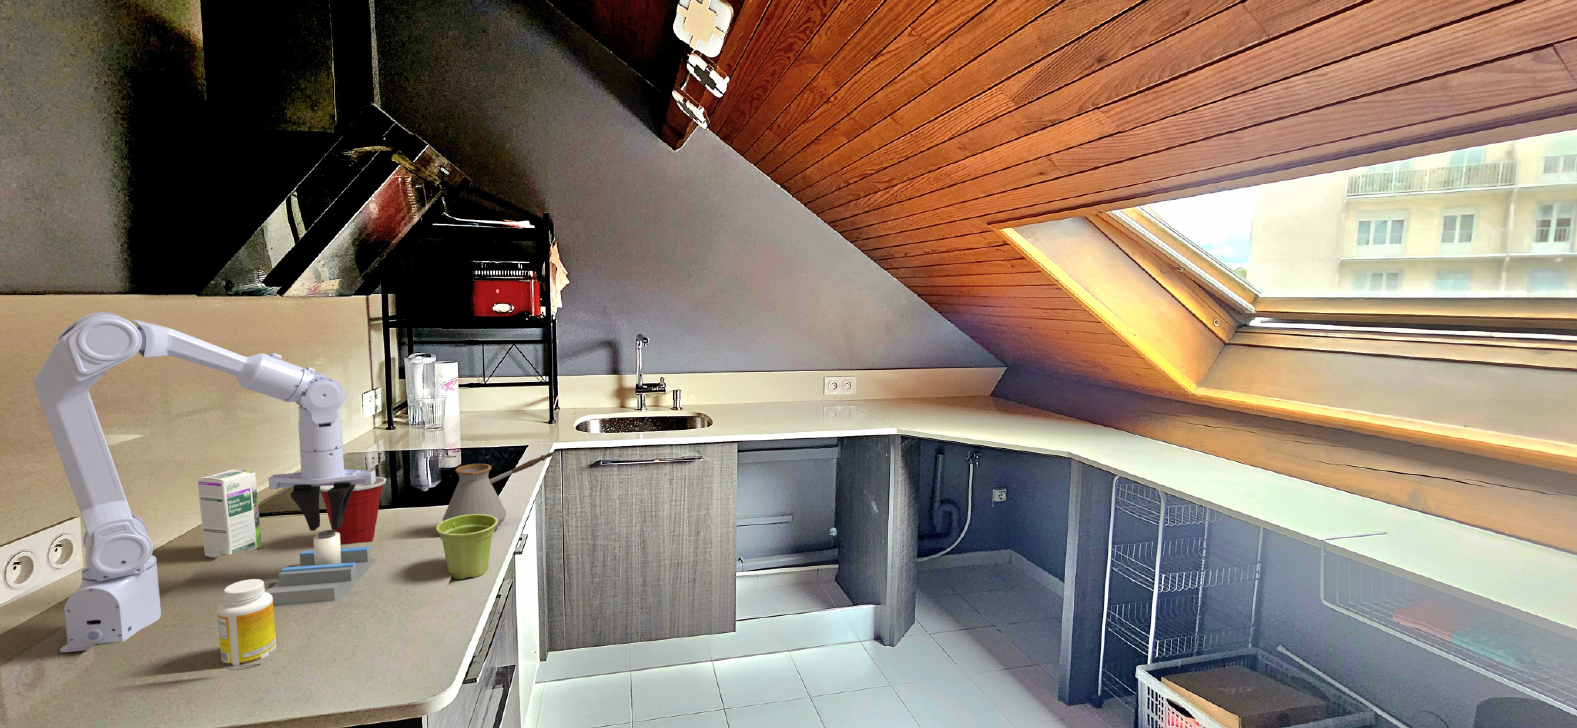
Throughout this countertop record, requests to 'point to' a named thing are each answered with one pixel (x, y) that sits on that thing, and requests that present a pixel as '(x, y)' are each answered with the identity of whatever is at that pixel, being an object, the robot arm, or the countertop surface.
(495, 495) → the coffee pot
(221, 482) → the syrup box
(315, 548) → the grey-capped cream cylinder
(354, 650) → the countertop surface
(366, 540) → the plastic cup
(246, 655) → the supplement bottle
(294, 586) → the grey and blue rack
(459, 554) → the plant pot
